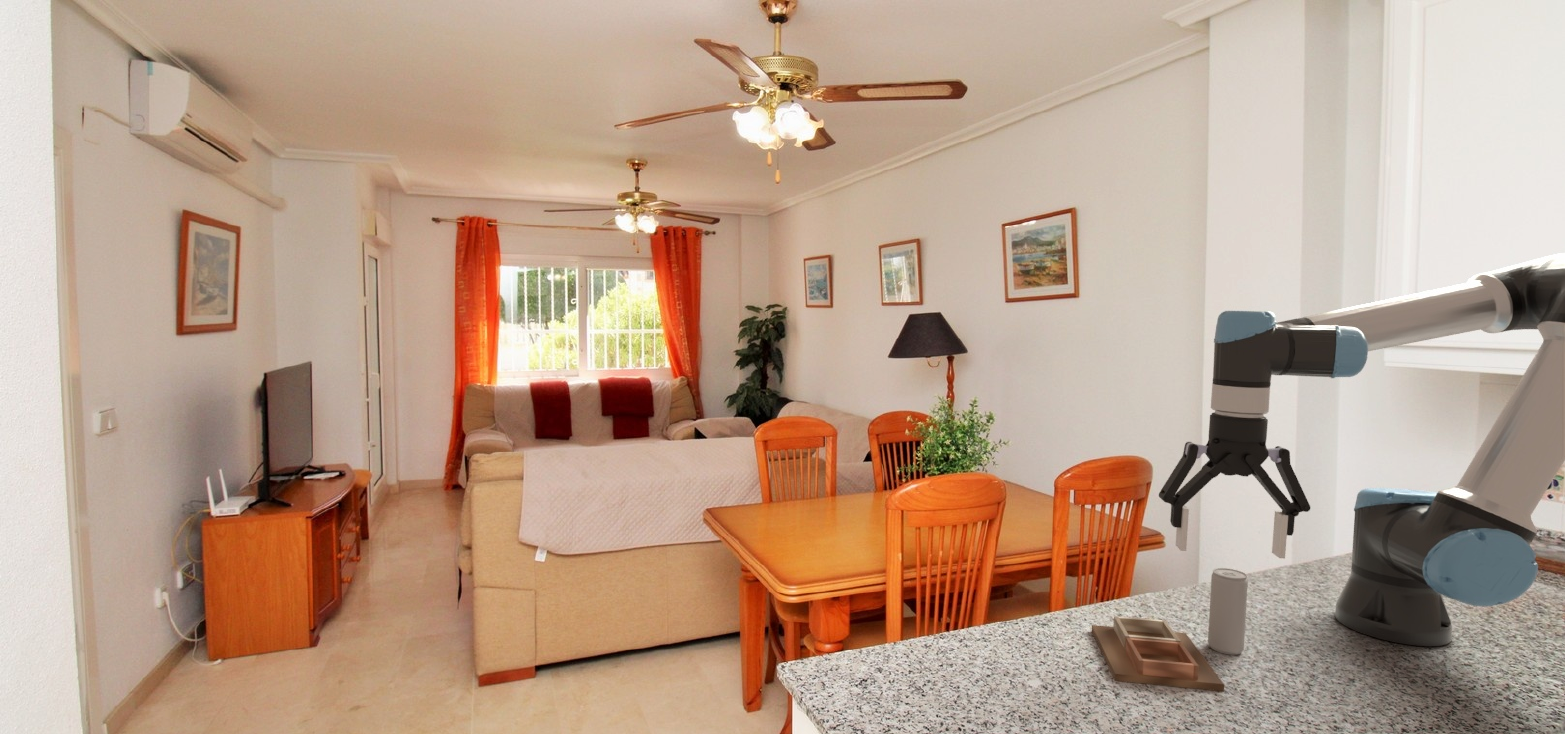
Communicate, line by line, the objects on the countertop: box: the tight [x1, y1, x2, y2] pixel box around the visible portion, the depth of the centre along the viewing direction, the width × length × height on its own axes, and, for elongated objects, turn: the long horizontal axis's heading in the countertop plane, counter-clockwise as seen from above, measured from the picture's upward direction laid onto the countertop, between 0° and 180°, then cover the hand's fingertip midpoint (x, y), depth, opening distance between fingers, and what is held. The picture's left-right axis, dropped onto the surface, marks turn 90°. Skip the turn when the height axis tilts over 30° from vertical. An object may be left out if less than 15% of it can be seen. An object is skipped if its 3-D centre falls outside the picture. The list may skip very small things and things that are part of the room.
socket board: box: [1091, 615, 1225, 692], centre depth 116 cm, size 14×17×3 cm
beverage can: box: [1207, 567, 1249, 656], centre depth 119 cm, size 5×5×12 cm
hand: (1228, 552), depth 118 cm, fingers open, 13 cm apart
